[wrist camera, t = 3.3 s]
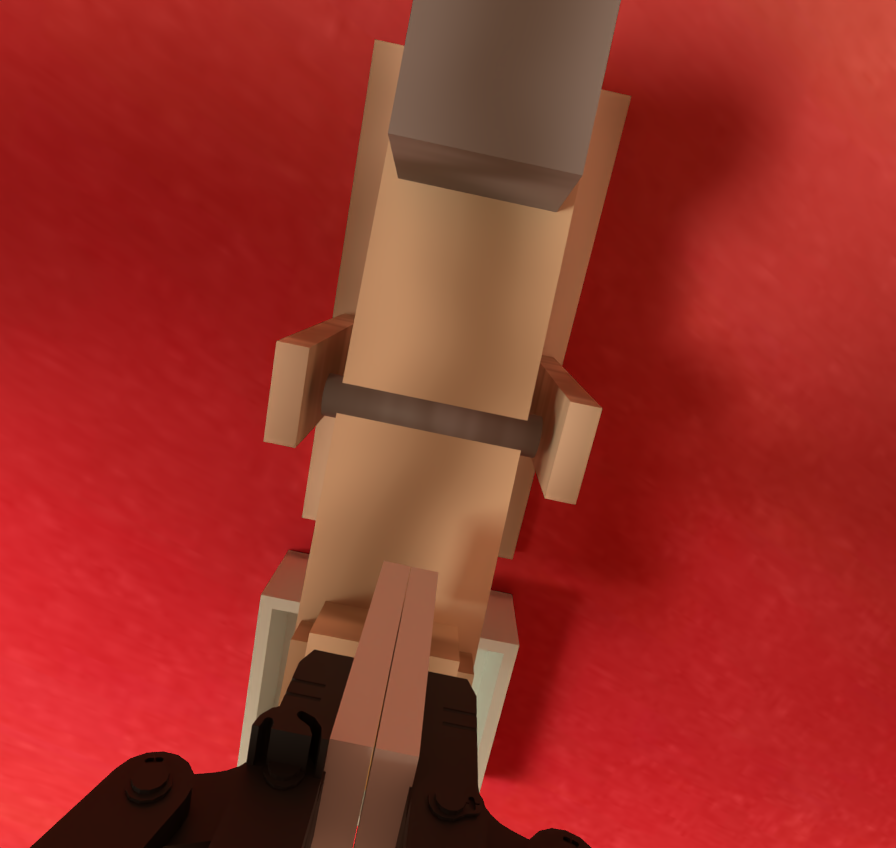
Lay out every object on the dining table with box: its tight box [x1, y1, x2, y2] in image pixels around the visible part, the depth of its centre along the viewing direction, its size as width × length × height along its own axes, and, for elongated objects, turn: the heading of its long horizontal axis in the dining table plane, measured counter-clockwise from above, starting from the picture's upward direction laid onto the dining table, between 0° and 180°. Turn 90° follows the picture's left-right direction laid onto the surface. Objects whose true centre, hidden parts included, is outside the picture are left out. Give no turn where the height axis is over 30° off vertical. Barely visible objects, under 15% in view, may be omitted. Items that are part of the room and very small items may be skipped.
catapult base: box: [263, 39, 631, 559], centre depth 23 cm, size 11×22×11 cm, turn 168°
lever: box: [278, 0, 621, 706], centre depth 18 cm, size 7×25×5 cm, turn 168°
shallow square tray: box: [237, 550, 519, 826], centre depth 32 cm, size 12×12×4 cm
